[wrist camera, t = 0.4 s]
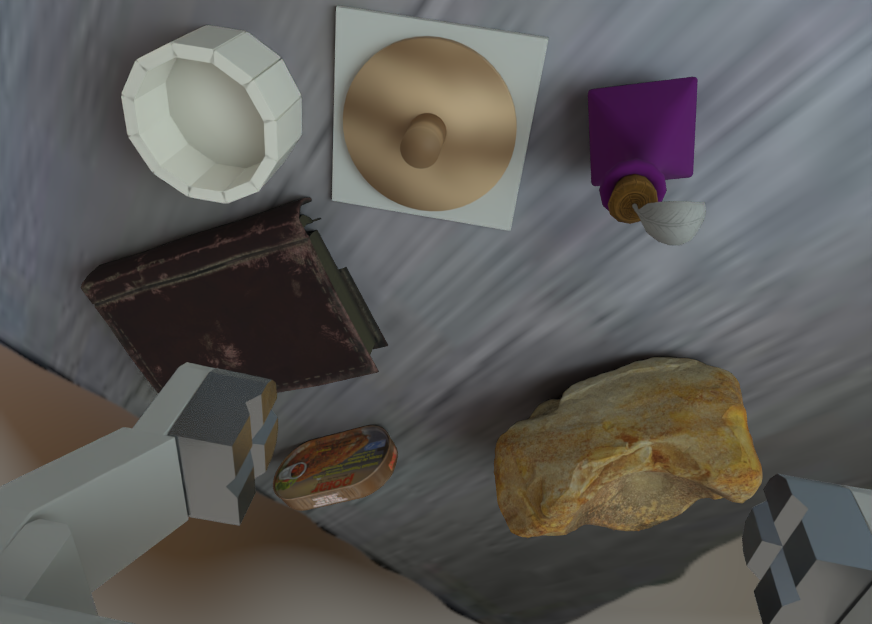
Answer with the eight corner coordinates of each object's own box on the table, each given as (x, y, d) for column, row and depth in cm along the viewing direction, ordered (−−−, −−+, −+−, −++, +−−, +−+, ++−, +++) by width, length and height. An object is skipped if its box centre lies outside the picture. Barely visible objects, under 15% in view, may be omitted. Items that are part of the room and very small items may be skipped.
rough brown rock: (530, 480, 77) (533, 604, 66) (485, 382, 68) (480, 505, 56) (741, 447, 71) (787, 577, 59) (724, 333, 61) (774, 461, 50)
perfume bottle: (589, 170, 54) (602, 286, 40) (586, 77, 50) (598, 169, 36) (686, 160, 53) (735, 278, 38) (690, 64, 49) (747, 154, 34)
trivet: (338, 5, 50) (336, 6, 50) (548, 37, 49) (548, 39, 49) (333, 197, 59) (332, 200, 59) (510, 227, 58) (510, 230, 58)
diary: (102, 258, 68) (73, 283, 64) (310, 188, 60) (292, 212, 56) (199, 393, 77) (178, 423, 73) (392, 348, 69) (381, 379, 65)
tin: (395, 417, 74) (379, 475, 67) (408, 437, 75) (393, 495, 68) (285, 445, 79) (259, 501, 72) (299, 463, 81) (275, 519, 74)
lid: (348, 22, 50) (330, 37, 46) (532, 51, 49) (530, 68, 45) (343, 191, 58) (327, 217, 54) (500, 218, 57) (496, 246, 53)
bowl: (152, 16, 53) (110, 32, 48) (301, 39, 52) (274, 58, 47) (170, 160, 60) (136, 188, 55) (302, 183, 59) (279, 212, 54)
